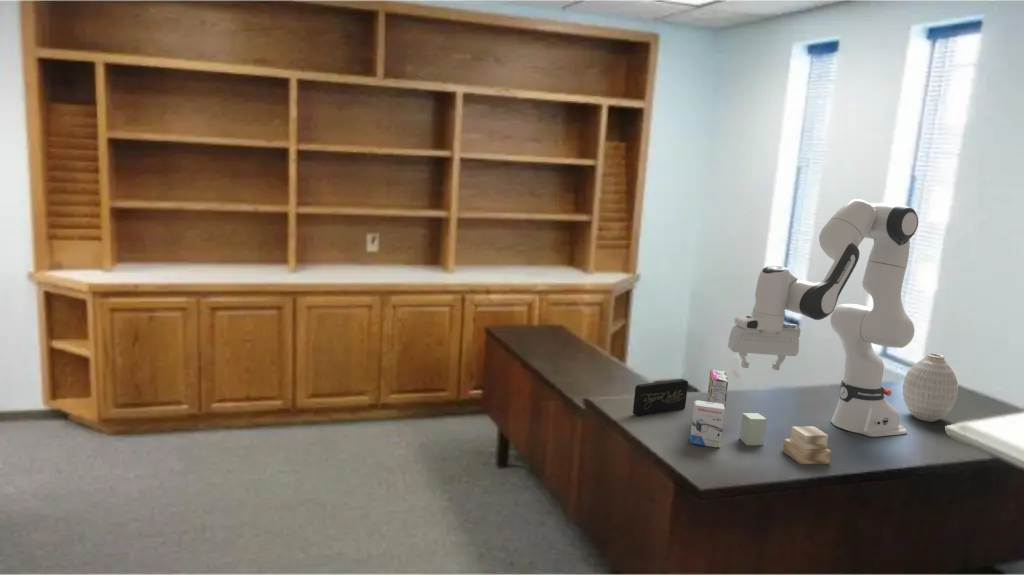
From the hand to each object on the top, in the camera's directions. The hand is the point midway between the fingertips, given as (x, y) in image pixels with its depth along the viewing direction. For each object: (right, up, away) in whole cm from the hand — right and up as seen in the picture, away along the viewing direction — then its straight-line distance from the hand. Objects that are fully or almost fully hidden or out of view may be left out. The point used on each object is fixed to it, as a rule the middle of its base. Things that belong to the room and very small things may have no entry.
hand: (760, 368), depth 215 cm
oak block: (+11, -25, -6) cm, 28 cm away
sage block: (-2, -22, +3) cm, 22 cm away
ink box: (-16, -22, -1) cm, 27 cm away
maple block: (+11, -21, -6) cm, 24 cm away
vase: (+68, -21, +37) cm, 80 cm away
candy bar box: (-10, -20, +14) cm, 26 cm away
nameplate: (-25, -17, +24) cm, 38 cm away
